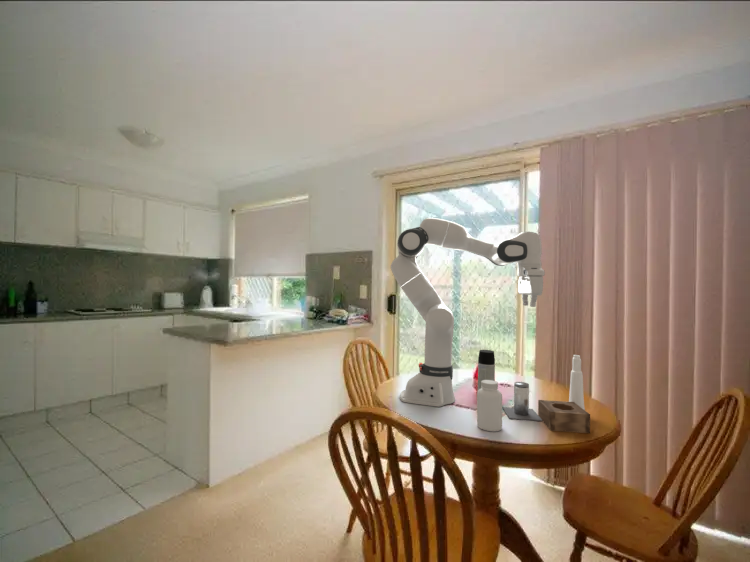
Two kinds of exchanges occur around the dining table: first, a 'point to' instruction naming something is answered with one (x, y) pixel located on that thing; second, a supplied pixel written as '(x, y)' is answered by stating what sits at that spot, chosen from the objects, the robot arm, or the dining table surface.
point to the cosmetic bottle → (576, 382)
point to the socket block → (564, 416)
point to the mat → (531, 416)
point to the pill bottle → (489, 406)
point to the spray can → (486, 366)
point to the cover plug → (521, 398)
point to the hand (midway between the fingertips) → (529, 306)
